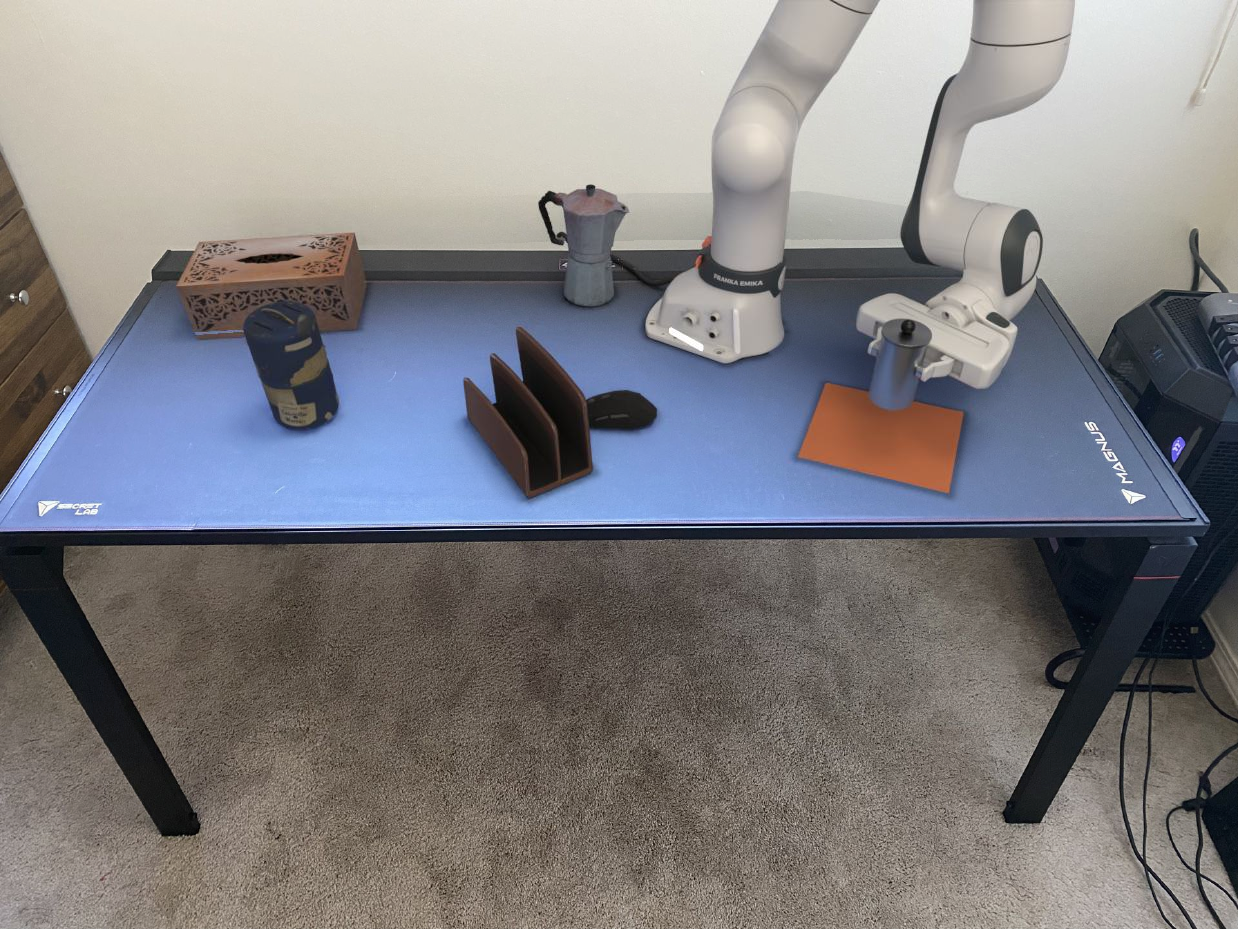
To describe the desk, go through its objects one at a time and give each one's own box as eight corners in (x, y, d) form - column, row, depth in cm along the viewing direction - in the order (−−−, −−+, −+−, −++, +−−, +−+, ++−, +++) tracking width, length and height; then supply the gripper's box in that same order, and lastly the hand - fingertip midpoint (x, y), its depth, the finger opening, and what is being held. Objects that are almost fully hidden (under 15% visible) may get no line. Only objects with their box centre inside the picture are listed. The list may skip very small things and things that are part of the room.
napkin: (797, 458, 122) (797, 456, 122) (825, 384, 134) (825, 382, 134) (948, 495, 116) (949, 492, 116) (963, 414, 129) (963, 411, 128)
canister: (320, 386, 136) (289, 283, 124) (354, 414, 131) (325, 308, 119) (263, 415, 131) (225, 309, 119) (295, 444, 126) (259, 337, 114)
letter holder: (528, 397, 133) (520, 316, 124) (594, 473, 120) (590, 390, 111) (467, 419, 129) (453, 338, 120) (528, 500, 117) (518, 417, 107)
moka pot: (625, 313, 150) (623, 201, 136) (536, 304, 152) (526, 194, 139) (635, 284, 157) (635, 175, 143) (550, 276, 159) (542, 168, 146)
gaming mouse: (557, 403, 132) (555, 381, 129) (657, 404, 131) (657, 382, 129) (553, 430, 127) (551, 408, 125) (656, 431, 127) (657, 409, 124)
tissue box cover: (366, 284, 158) (354, 232, 151) (357, 329, 147) (343, 275, 141) (218, 293, 156) (199, 241, 150) (197, 339, 146) (176, 286, 139)
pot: (863, 405, 119) (880, 328, 110) (871, 379, 123) (888, 303, 115) (910, 416, 117) (931, 338, 109) (917, 389, 121) (938, 312, 113)
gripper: (894, 273, 126) (834, 310, 119) (1029, 332, 115) (972, 377, 108) (885, 311, 130) (827, 349, 123) (1015, 372, 119) (959, 417, 112)
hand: (896, 363), depth 115 cm, fingers closed on pot, 6 cm apart
